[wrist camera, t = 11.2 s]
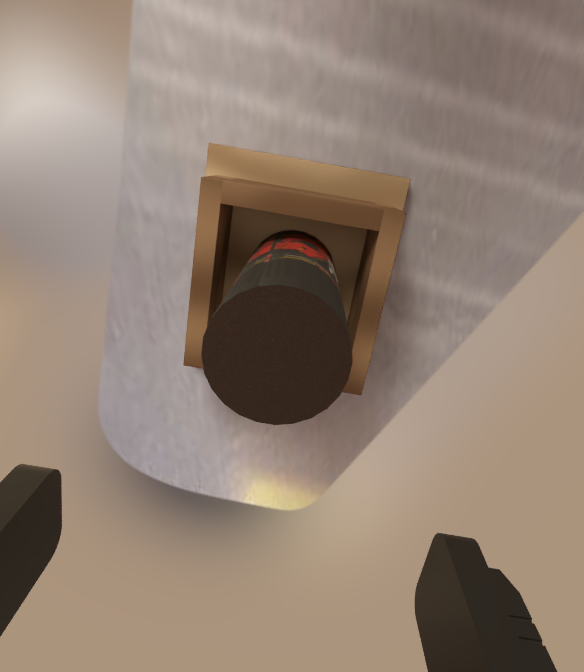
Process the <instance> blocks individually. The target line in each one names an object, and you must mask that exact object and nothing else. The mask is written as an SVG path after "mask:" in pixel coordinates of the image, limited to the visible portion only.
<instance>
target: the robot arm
mask: <svg viewBox="0 0 584 672" xmlns="http://www.w3.org/2000/svg"><path fill="white" fill-rule="evenodd" d="M61 501H62V500H61V474H60V472H59V470H56V469H50V468H44V467H38V466H32V465H25V464H20V465H18V466H16V467H15V468H14V469H13V470H12V471H11V472H10V473H9V474H8V475H7V476H6V477H5V478H4V479H3V480H2V481H1V482H0V636H1V635H2V633H3V632H4V630H5V629H6V627H7V626H8V624H9V623H10V621H11V620H12V618H13V616H14V615H15V613H16V612H17V610H18V609H19V607H20V606H21V604H22V603H23V601H24V600H25V598H26V597H27V595H28V593H29V592H30V590H31V589H32V587H33V586H34V584H35V583H36V581H37V580H38V578H39V577H40V575H41V574H42V572H43V571H44V569H45V567H46V566H47V564H48V563H49V561H50V560H51V558H52V556H53V554H54V552H55V550H56V548H57V545H58V542H59V539H60V535H61V529H62V505H61V504H62V502H61ZM415 615H416V620H417V624H418V629H419V633H420V638H421V642H422V647H423V651H424V656H425V660H426V665H427V669H428V672H557V670H556V668H555V666H554V664H553V662H552V660H551V658H550V656H549V654H548V651H547V649H546V647H545V646H543V645H542V639H541V637H540V635H539V632H538V630H537V628H536V626H535V624H533V623H532V618H531V616H530V614H529V612H528V609H527V607H526V605H525V603H524V601H523V599H522V597H521V595H520V593H519V592H518V591H517V589H516V588H515V587H514V586H513V585H512V584H511V583H510V581H509V580H508V579H507V578H506V577H505V575H504V574H503V573H502V572H501V571H500V570H499V569H493V568H488V566H487V564H486V561H485V559H484V556H483V554H482V552H481V550H480V547H479V545H478V543H477V542H476V540H474V539H472V538H466V537H460V536H454V535H448V534H442V533H438V534H436V535H435V536H434V538H433V541H432V543H431V546H430V549H429V552H428V555H427V558H426V561H425V563H424V566H423V569H422V572H421V575H420V578H419V580H418V583H417V587H416V592H415Z"/></svg>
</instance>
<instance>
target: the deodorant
mask: <svg viewBox="0 0 584 672" xmlns="http://www.w3.org/2000/svg"><path fill="white" fill-rule="evenodd" d="M201 357H202V363H203V369H204V374H205V376H206V378H207V380H208V382H209V384H210V386H211V388H212V390H213V391H214V392H215V394H216V395H217V396H218V397H219V398H220V400H221V401H222V402H223V403H224V404H225V405H226V406H228V407H229V408H231V409H232V410H233V411H235V412H236V413H238V414H239V415H241V416H244V417H246V418H248V419H251V420H253V421H256V422H261V423H267V424H273V425H279V424H293V423H297V422H300V421H303V420H306V419H310V418H312V417H314V416H315V415H317V414H319V413H320V412H322V411H324V410H325V409H327V408H328V407H329V406H330V405H331V404H332V403H333V402H334V401H335V400H336V399H337V398H338V397H339V396H340V394H341V392H342V391H343V389H344V387H345V385H346V383H347V381H348V380H349V376H350V371H351V367H352V363H353V358H352V343H351V338H350V334H349V329H348V325H347V320H346V315H345V311H344V306H343V302H342V297H341V293H340V288H339V284H338V279H337V275H336V270H335V266H334V262H333V259H332V256H331V253H330V252H329V251H328V249H327V248H326V246H325V245H324V244H323V243H322V242H321V241H320V240H319V239H317V238H316V237H315V236H313V235H311V234H308V233H306V232H303V231H297V230H286V231H280V232H278V233H275V234H272V235H270V236H269V237H268V238H266V239H265V240H263V241H262V242H261V243H260V245H259V246H258V247H257V248H256V250H255V251H254V252H253V254H252V256H251V257H250V259H249V260H248V262H247V263H246V265H245V266H244V268H243V270H242V271H241V273H240V274H239V276H238V277H237V279H236V280H235V282H234V284H233V285H232V287H231V288H230V290H229V291H228V293H227V294H226V296H225V298H224V299H223V301H222V302H221V304H220V305H219V307H218V308H217V310H216V311H215V313H214V315H213V316H212V318H211V319H210V321H209V324H208V326H207V329H206V331H205V334H204V336H203V342H202V352H201Z"/></svg>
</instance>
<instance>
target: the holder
mask: <svg viewBox="0 0 584 672" xmlns="http://www.w3.org/2000/svg"><path fill="white" fill-rule="evenodd" d="M409 183H410V179H408V178H403V177H397V176H392V175H386V174H380V173H375V172H369V171H364V170H358V169H352V168H347V167H341V166H336V165H330V164H324V163H319V162H313V161H308V160H302V159H296V158H291V157H285V156H280V155H274V154H268V153H263V152H257V151H252V150H246V149H240V148H235V147H229V146H224V145H218V144H212V143H209V146H208V156H207V167H206V176H205V177H201V184H200V195H199V206H198V216H197V227H196V237H195V248H194V259H193V269H192V280H191V291H190V301H189V312H188V323H187V333H186V344H185V354H184V365H185V366H191V367H197V368H203V363H202V357H201V352H202V342H203V336H204V334H205V331H206V329H207V326H208V324H209V321H210V319H211V318H212V316H213V315H214V313H215V311H216V310H217V308H218V307H219V305H220V304H221V302H222V301H223V299H224V298H225V296H226V294H227V293H228V291H229V290H230V288H231V287H232V285H233V284H234V282H235V280H236V279H237V277H238V276H239V274H240V273H241V271H242V270H243V268H244V266H245V265H246V263H247V262H248V260H249V259H250V257H251V256H252V254H253V252H254V251H255V250H256V248H257V247H258V246H259V245H260V243H261V242H262V241H263V240H265V239H266V238H268V237H269V236H270V235H272V234H275V233H278V232H280V231H286V230H297V231H303V232H306V233H308V234H311V235H313V236H315V237H316V238H317V239H319V240H320V241H321V242H322V243H323V244H324V245H325V246H326V248H327V249H328V251H329V252H330V253H331V256H332V259H333V262H334V266H335V270H336V275H337V279H338V284H339V288H340V293H341V297H342V302H343V306H344V311H345V315H346V320H347V325H348V329H349V334H350V338H351V343H352V358H353V363H352V367H351V371H350V376H349V380H348V381H347V383H346V385H345V387H344V389H343V391H342V392H345V393H351V394H357V395H361V394H362V390H363V386H364V382H365V378H366V374H367V370H368V366H369V362H370V357H371V353H372V349H373V345H374V341H375V337H376V333H377V329H378V325H379V321H380V317H381V313H382V309H383V304H384V300H385V296H386V292H387V288H388V284H389V280H390V276H391V272H392V268H393V264H394V260H395V256H396V251H397V247H398V243H399V239H400V235H401V231H402V227H403V223H404V219H405V215H406V213H404V212H403V208H404V204H405V199H406V195H407V191H408V187H409Z"/></svg>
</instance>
